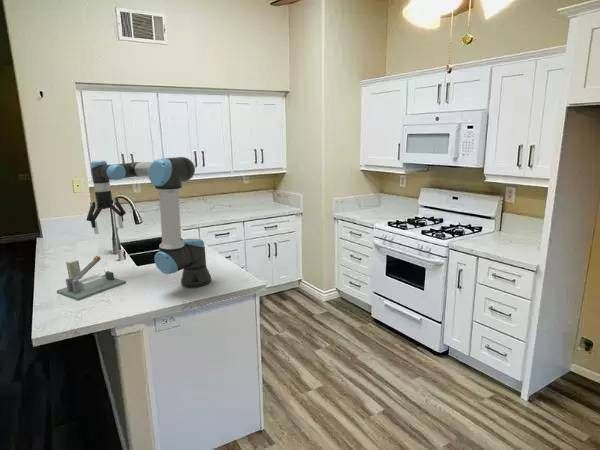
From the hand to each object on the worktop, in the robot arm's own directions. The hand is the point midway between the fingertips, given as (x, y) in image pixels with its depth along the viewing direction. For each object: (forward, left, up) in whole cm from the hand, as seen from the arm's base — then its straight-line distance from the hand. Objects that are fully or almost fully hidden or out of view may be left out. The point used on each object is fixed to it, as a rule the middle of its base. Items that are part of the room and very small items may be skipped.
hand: (109, 230), depth 207 cm
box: (+18, +12, -27) cm, 35 cm away
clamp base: (-2, +14, -27) cm, 31 cm away
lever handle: (-2, +15, -17) cm, 23 cm away
